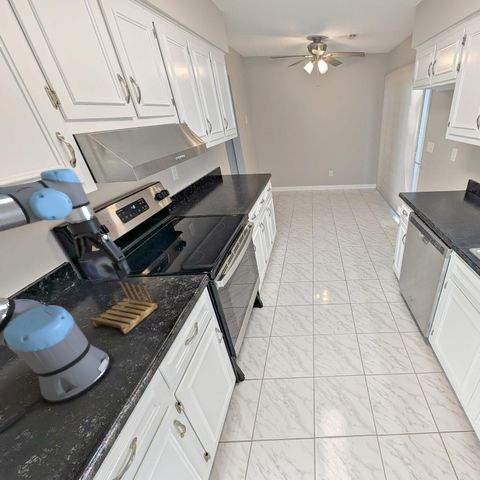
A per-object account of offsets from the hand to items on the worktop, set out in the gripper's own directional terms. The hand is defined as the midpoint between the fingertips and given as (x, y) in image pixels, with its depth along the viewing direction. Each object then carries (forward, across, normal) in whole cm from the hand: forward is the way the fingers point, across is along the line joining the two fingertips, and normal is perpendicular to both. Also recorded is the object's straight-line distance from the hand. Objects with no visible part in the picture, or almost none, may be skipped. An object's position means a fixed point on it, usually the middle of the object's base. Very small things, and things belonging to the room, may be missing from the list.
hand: (110, 275), depth 91 cm
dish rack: (+18, -1, +2) cm, 18 cm away
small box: (+2, 0, 0) cm, 2 cm away
